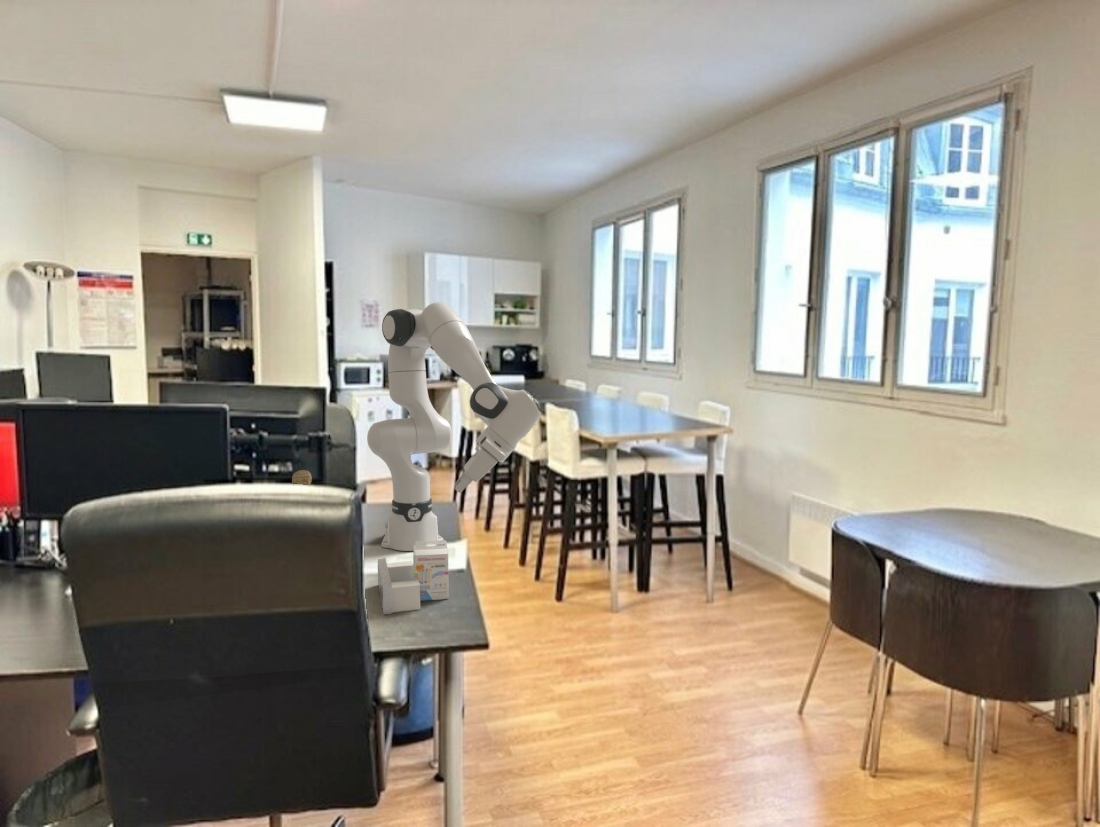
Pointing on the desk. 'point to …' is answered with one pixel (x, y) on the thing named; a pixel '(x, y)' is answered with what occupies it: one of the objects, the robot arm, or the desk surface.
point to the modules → (404, 587)
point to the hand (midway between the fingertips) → (456, 488)
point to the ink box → (431, 569)
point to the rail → (385, 586)
